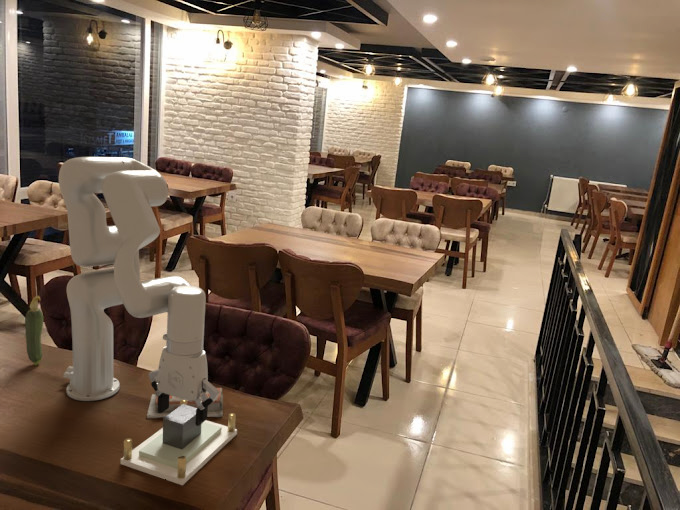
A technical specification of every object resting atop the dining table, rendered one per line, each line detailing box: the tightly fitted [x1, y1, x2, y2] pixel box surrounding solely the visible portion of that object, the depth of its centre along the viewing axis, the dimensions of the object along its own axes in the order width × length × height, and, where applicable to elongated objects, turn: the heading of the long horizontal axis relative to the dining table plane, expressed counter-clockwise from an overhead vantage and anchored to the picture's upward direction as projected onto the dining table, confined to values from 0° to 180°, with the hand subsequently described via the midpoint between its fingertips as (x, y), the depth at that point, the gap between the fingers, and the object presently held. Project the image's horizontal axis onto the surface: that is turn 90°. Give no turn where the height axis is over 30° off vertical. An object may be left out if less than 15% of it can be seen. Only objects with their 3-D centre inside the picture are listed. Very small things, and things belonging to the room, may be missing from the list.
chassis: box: [120, 399, 238, 486], centre depth 122 cm, size 15×21×5 cm
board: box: [139, 404, 222, 469], centre depth 121 cm, size 10×16×7 cm, turn 160°
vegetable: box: [24, 295, 44, 366], centre depth 152 cm, size 4×4×20 cm
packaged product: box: [146, 387, 224, 419], centre depth 139 cm, size 18×5×10 cm
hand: (181, 416), depth 121 cm, fingers open, 9 cm apart
